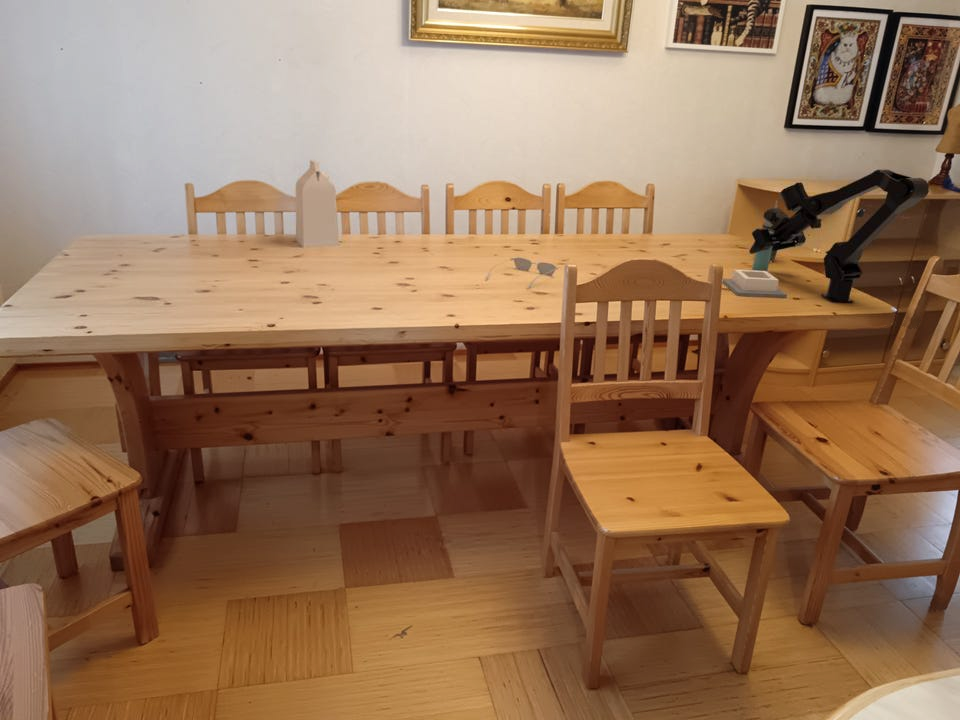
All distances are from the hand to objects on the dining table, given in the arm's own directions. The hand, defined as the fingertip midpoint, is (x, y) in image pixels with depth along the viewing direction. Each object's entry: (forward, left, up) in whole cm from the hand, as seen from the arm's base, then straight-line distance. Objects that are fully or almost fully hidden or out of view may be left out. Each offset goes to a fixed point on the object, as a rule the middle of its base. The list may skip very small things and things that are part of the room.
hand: (759, 251), depth 224 cm
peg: (-1, -1, -7) cm, 7 cm away
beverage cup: (+16, -10, -7) cm, 20 cm away
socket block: (-20, +8, -7) cm, 23 cm away
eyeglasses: (-19, +76, -7) cm, 79 cm away
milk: (+13, +141, -7) cm, 142 cm away
